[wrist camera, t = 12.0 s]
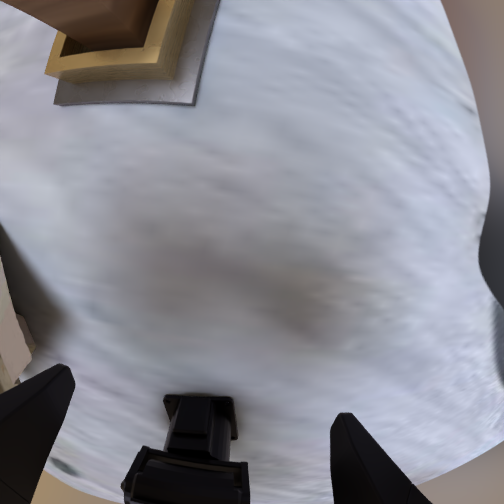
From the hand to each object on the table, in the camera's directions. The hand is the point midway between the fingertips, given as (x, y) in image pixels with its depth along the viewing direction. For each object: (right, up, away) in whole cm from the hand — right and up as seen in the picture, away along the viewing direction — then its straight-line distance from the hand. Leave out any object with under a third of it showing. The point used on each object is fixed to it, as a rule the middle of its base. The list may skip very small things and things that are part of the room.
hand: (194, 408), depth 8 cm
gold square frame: (-6, +20, +7) cm, 22 cm away
